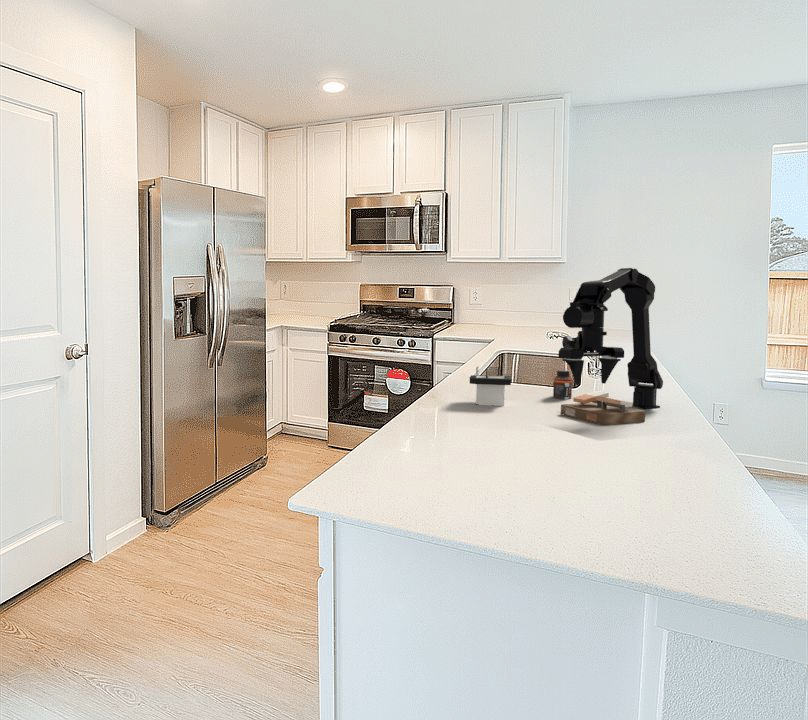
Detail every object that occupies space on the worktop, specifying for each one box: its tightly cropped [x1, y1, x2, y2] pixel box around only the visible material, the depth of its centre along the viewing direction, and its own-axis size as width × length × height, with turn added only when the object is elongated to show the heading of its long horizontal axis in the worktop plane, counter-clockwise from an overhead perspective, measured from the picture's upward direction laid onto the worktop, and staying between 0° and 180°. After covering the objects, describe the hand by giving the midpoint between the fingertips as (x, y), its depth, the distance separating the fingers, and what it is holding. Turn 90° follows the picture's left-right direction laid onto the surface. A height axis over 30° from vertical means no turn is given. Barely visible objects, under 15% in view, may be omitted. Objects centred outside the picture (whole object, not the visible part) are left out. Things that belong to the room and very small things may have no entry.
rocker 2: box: [596, 396, 633, 408], centre depth 167 cm, size 9×6×2 cm, turn 114°
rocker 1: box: [572, 390, 610, 404], centre depth 175 cm, size 9×6×2 cm, turn 114°
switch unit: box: [560, 400, 646, 426], centre depth 171 cm, size 15×18×5 cm
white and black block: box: [469, 365, 512, 407], centre depth 188 cm, size 28×26×13 cm
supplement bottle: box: [552, 369, 573, 400], centre depth 196 cm, size 6×6×11 cm
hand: (590, 384), depth 163 cm, fingers open, 9 cm apart
